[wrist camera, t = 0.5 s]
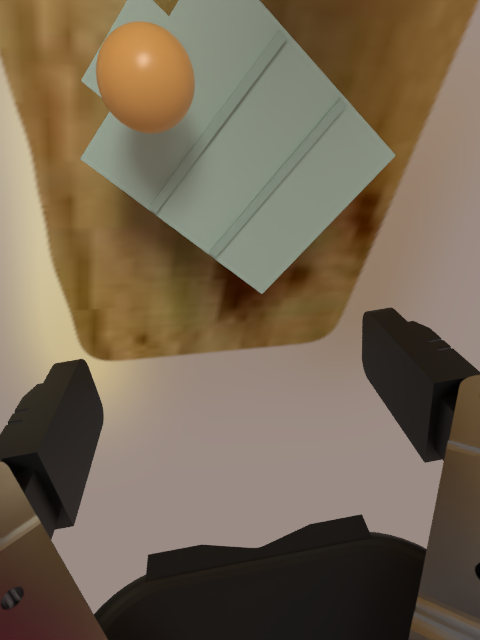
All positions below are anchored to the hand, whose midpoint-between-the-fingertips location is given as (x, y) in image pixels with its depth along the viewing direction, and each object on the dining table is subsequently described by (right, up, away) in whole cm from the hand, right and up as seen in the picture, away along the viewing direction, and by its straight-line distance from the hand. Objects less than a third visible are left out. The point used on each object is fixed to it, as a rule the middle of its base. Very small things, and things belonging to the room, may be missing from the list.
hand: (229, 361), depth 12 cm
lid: (0, +11, +11) cm, 16 cm away
